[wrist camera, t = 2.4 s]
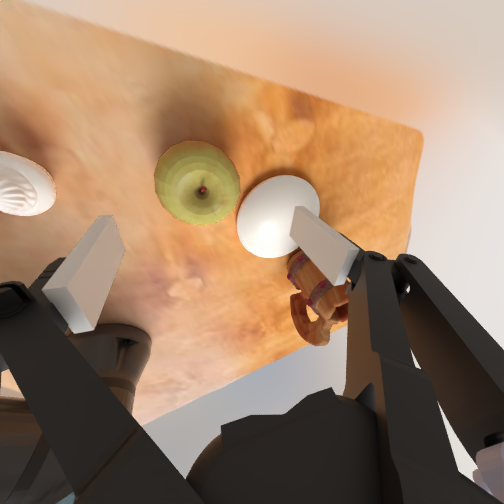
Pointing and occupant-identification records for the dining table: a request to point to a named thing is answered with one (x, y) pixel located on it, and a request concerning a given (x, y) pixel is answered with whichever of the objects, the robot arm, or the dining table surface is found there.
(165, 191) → the apple
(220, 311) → the dining table surface
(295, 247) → the plate
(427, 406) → the robot arm
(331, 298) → the mug
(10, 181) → the white rounded piece
